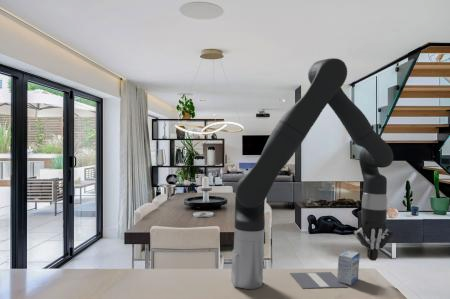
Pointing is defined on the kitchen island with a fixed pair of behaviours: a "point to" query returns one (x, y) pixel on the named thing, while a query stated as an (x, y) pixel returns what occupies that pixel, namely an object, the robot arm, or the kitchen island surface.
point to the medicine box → (348, 267)
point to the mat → (317, 280)
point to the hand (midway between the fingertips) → (372, 259)
